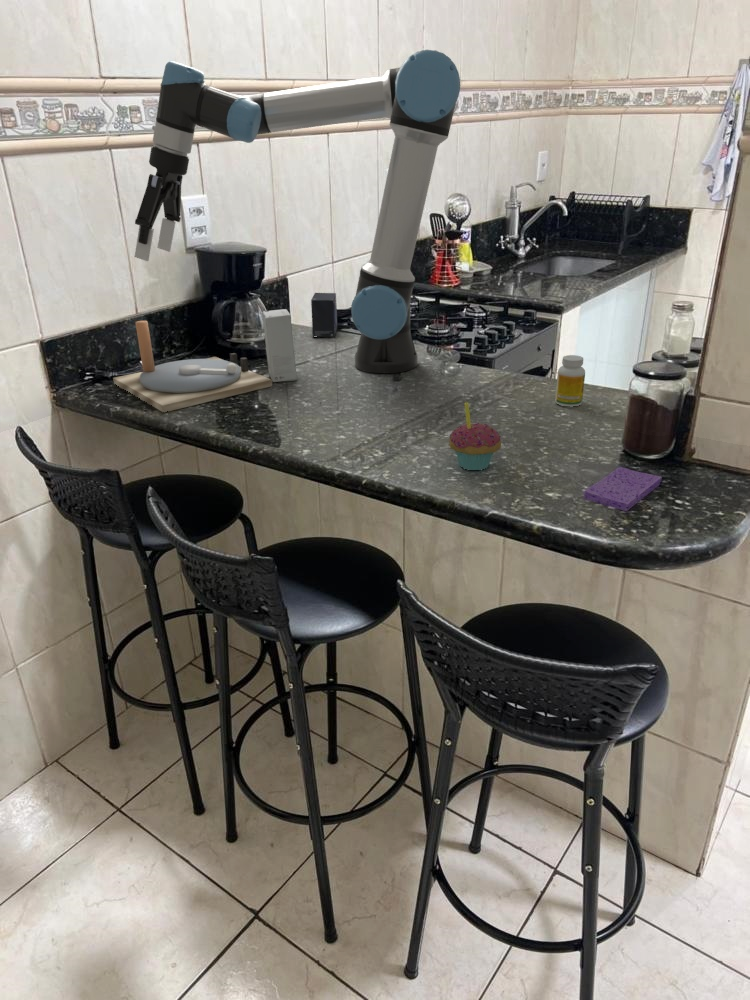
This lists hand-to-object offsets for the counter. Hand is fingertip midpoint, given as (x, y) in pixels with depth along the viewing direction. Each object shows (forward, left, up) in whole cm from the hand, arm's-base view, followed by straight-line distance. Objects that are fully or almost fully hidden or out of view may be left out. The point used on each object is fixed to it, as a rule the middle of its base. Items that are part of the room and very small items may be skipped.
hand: (153, 254), depth 158 cm
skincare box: (-15, -20, -28) cm, 38 cm away
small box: (+12, -52, -28) cm, 60 cm away
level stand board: (-7, -2, -28) cm, 29 cm away
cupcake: (-80, -16, -28) cm, 87 cm away
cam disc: (-7, -2, -26) cm, 27 cm away
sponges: (-102, -26, -29) cm, 110 cm away
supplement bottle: (-71, -53, -28) cm, 94 cm away
